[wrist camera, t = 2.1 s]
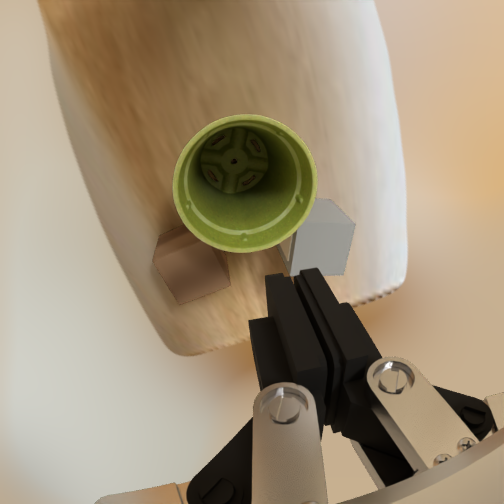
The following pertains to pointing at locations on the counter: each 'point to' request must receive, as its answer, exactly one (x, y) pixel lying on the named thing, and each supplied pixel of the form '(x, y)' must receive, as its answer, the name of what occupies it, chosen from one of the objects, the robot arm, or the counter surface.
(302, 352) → the robot arm
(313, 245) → the slate block
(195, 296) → the walnut block
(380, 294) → the counter surface
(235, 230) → the plant pot
